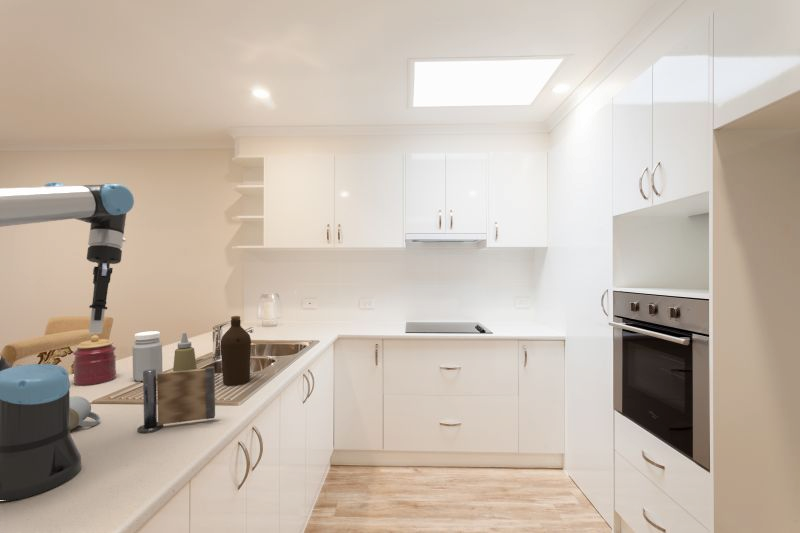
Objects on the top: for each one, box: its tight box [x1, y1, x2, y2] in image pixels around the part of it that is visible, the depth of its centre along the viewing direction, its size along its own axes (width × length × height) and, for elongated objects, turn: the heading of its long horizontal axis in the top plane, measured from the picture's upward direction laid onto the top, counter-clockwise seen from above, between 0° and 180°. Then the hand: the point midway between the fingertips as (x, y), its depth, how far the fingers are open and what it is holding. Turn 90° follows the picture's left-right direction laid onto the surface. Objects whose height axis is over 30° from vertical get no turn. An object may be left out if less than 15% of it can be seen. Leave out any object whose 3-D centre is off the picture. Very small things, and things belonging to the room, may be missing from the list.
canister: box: [72, 334, 117, 386], centre depth 146 cm, size 13×13×18 cm
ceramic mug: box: [70, 395, 101, 431], centre depth 105 cm, size 11×8×8 cm
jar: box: [132, 330, 163, 383], centre depth 148 cm, size 10×10×18 cm
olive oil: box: [220, 315, 252, 387], centre depth 143 cm, size 11×11×25 cm
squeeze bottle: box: [172, 332, 198, 371], centre depth 147 cm, size 8×8×18 cm
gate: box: [156, 365, 216, 425], centre depth 106 cm, size 14×2×14 cm, turn 108°
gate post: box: [136, 369, 164, 434], centre depth 103 cm, size 6×6×16 cm
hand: (95, 333), depth 100 cm, fingers closed
